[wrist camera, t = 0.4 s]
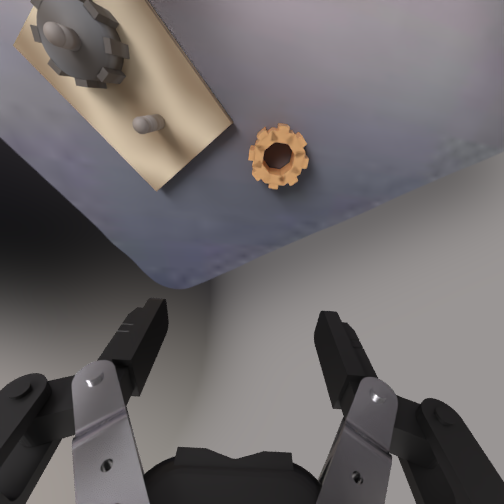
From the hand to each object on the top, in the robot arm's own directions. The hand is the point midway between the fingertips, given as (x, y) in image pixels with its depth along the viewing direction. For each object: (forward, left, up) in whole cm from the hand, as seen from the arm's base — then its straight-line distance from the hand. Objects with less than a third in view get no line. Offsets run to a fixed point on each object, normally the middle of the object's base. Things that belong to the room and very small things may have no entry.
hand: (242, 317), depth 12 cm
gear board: (+4, -16, -20) cm, 26 cm away
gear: (-4, -2, -20) cm, 21 cm away
